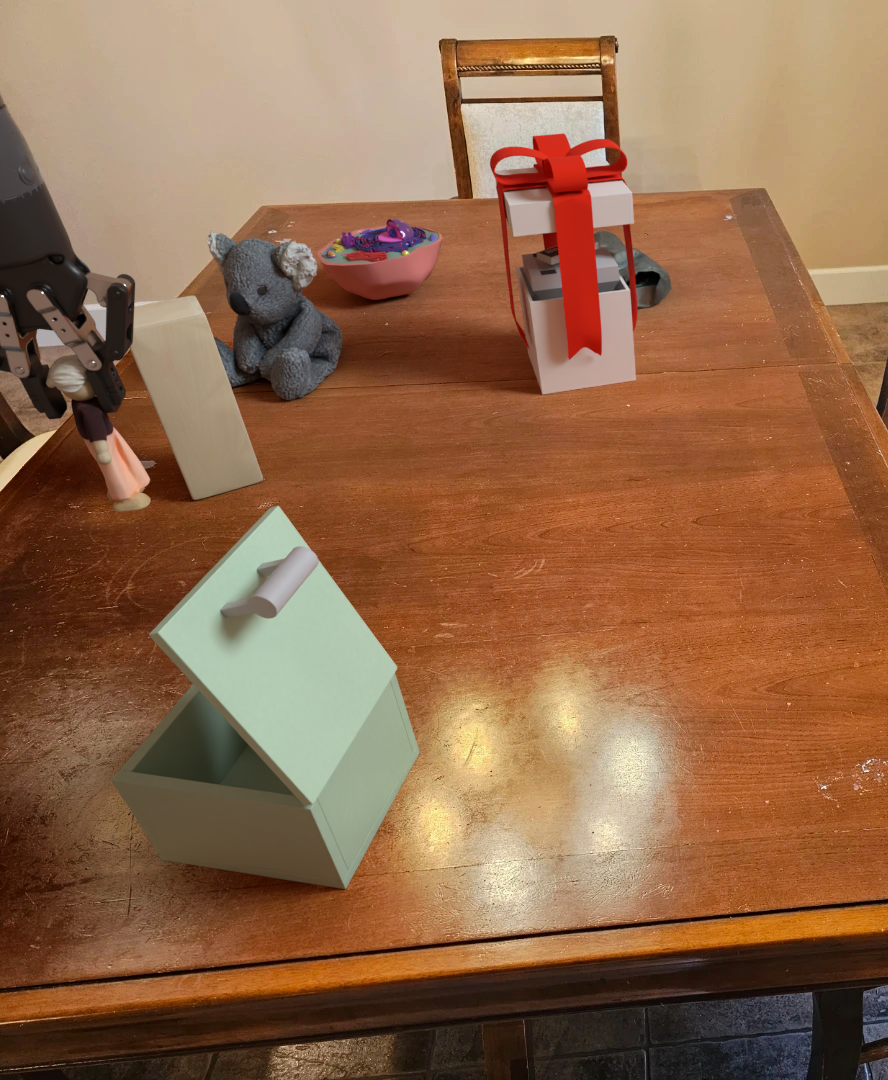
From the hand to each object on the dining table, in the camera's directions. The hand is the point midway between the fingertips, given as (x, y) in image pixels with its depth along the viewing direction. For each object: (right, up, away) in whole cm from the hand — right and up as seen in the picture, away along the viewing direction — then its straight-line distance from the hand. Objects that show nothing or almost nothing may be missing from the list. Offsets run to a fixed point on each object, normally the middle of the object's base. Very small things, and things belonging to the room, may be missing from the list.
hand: (86, 410), depth 72 cm
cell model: (-6, +31, +83) cm, 89 cm away
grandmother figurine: (0, -7, +5) cm, 8 cm away
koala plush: (-12, +14, +61) cm, 64 cm away
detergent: (+33, +33, +85) cm, 97 cm away
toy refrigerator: (-10, -3, +38) cm, 40 cm away
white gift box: (+29, +15, +61) cm, 69 cm away
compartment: (+16, -31, +1) cm, 35 cm away
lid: (+20, -18, -10) cm, 29 cm away
